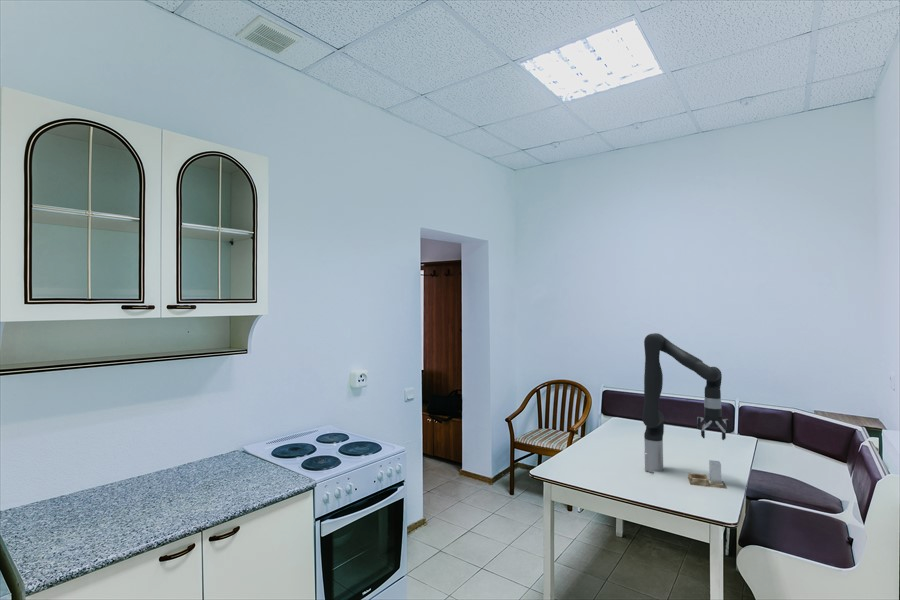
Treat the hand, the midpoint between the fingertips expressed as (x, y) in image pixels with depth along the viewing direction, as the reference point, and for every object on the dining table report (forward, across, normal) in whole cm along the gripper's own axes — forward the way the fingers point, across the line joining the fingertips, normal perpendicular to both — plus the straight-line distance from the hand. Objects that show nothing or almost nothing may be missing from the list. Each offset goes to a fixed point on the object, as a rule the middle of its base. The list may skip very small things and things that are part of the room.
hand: (713, 438), depth 225 cm
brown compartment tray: (+22, -4, -2) cm, 23 cm away
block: (+21, 0, -1) cm, 21 cm away
